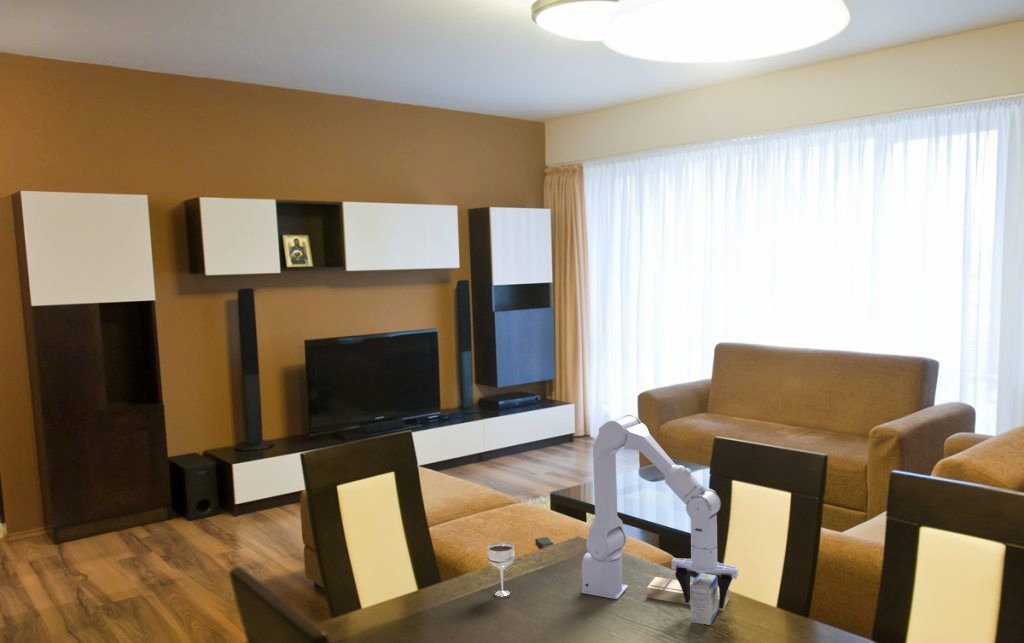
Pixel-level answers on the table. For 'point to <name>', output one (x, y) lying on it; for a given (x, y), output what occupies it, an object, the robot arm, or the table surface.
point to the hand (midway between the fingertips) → (704, 603)
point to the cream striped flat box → (672, 591)
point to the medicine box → (704, 599)
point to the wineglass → (501, 560)
